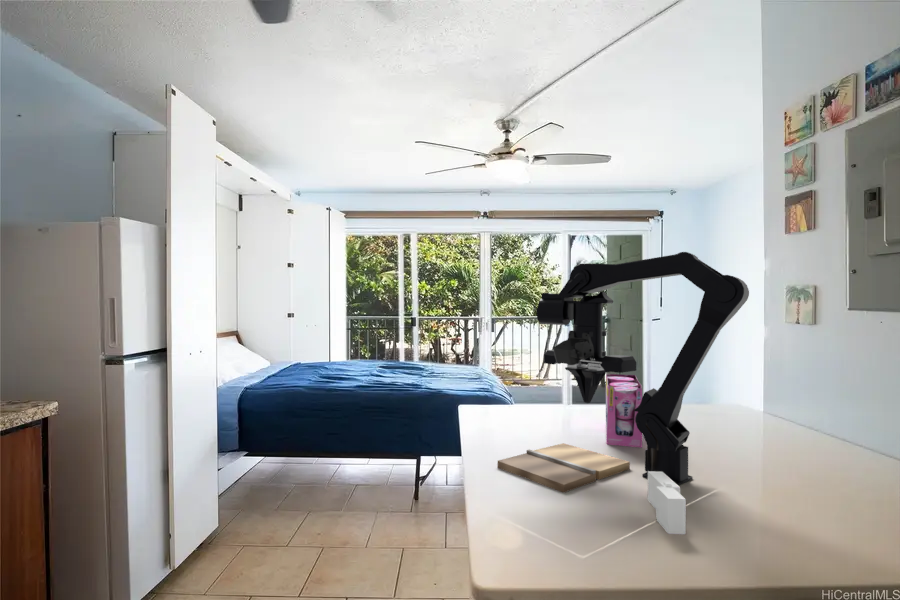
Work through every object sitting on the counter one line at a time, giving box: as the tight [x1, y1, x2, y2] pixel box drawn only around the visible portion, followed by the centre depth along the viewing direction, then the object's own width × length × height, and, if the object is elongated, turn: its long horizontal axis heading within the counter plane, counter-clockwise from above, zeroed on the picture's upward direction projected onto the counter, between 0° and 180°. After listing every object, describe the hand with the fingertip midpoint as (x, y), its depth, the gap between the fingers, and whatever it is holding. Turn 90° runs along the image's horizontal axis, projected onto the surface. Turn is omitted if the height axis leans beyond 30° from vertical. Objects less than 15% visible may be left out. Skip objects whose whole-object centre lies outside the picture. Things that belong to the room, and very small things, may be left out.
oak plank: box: [532, 443, 631, 481], centre depth 98 cm, size 16×10×2 cm, turn 38°
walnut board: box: [497, 448, 597, 493], centre depth 92 cm, size 16×9×2 cm, turn 38°
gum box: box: [605, 373, 643, 449], centre depth 121 cm, size 24×8×14 cm, turn 163°
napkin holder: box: [647, 471, 687, 535], centre depth 74 cm, size 15×11×6 cm
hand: (587, 402), depth 100 cm, fingers closed
